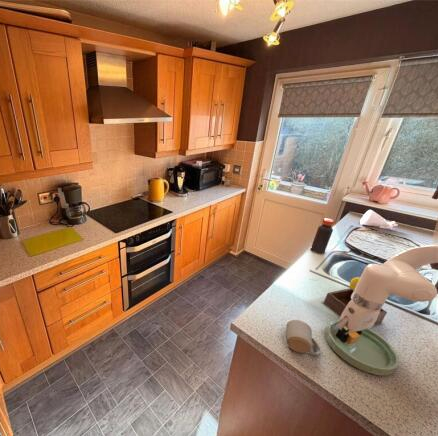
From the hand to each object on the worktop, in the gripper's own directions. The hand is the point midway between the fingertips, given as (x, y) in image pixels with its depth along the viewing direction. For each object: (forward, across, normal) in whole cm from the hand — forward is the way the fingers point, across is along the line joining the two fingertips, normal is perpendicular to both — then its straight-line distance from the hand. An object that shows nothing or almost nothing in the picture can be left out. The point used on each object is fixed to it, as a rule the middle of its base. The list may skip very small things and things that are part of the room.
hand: (346, 337), depth 83 cm
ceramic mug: (+1, -18, +2) cm, 18 cm away
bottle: (+1, +42, +50) cm, 65 cm away
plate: (+1, 0, -4) cm, 4 cm away
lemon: (+1, +28, +18) cm, 33 cm away
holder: (+1, +14, +9) cm, 17 cm away
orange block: (0, 0, 0) cm, 0 cm away
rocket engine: (+1, +110, +64) cm, 128 cm away
